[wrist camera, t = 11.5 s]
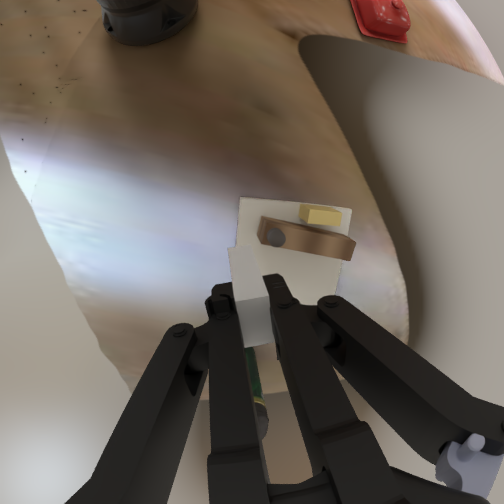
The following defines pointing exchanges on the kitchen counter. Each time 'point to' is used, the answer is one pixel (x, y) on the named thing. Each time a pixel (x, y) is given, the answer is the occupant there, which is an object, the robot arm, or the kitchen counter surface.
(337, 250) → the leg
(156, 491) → the robot arm
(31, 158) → the kitchen counter surface
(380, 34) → the butter dish
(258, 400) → the coffee jar
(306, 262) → the white board with blocks
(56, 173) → the kitchen counter surface
